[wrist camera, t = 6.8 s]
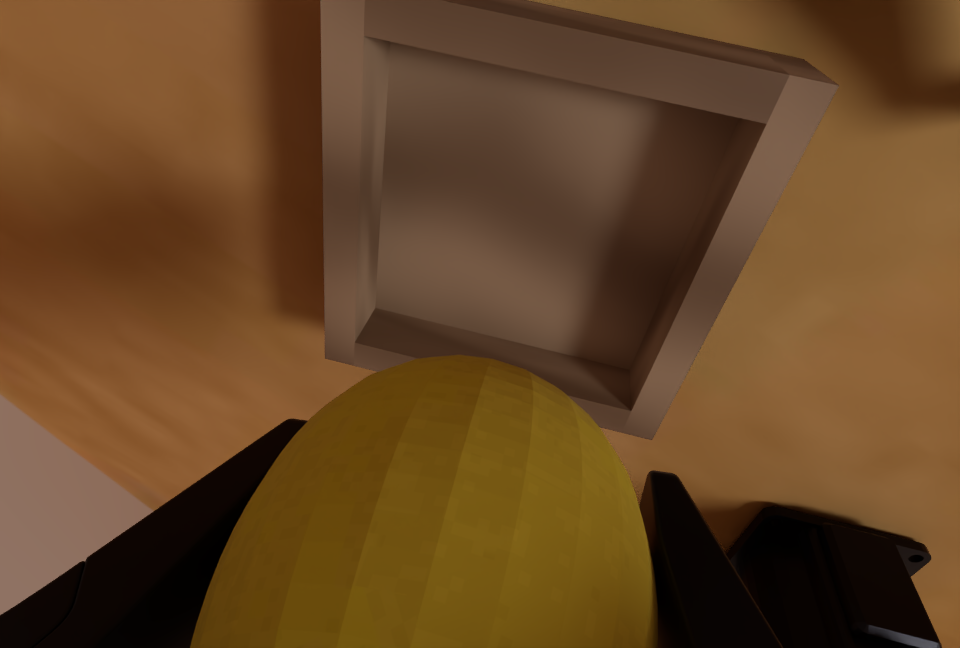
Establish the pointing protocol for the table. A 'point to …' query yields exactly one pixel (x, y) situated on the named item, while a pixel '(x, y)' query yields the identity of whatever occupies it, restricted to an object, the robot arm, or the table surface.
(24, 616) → the robot arm
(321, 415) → the lemon
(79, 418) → the table surface
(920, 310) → the table surface
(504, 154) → the tray
